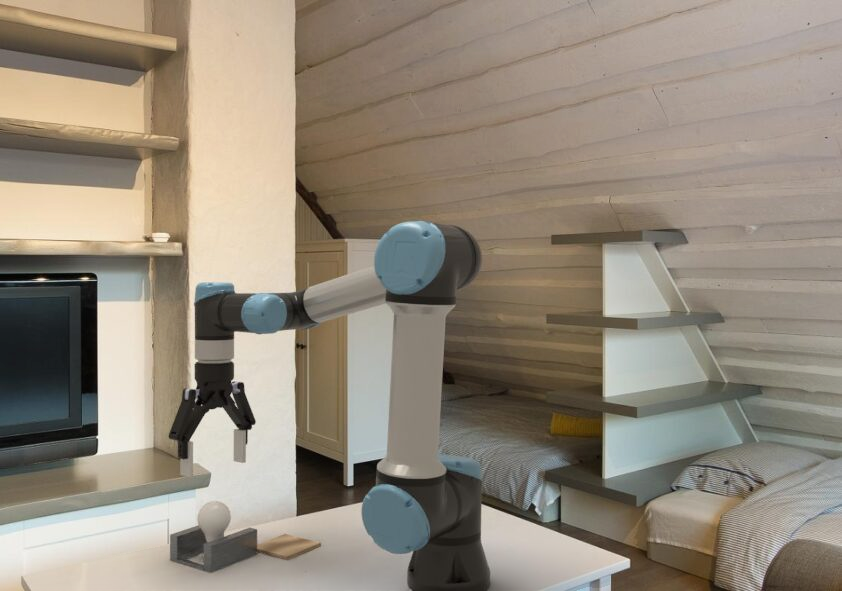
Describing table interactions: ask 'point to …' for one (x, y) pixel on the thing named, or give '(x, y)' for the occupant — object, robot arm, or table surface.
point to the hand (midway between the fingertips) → (214, 468)
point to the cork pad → (286, 546)
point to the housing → (212, 548)
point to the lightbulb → (214, 520)
